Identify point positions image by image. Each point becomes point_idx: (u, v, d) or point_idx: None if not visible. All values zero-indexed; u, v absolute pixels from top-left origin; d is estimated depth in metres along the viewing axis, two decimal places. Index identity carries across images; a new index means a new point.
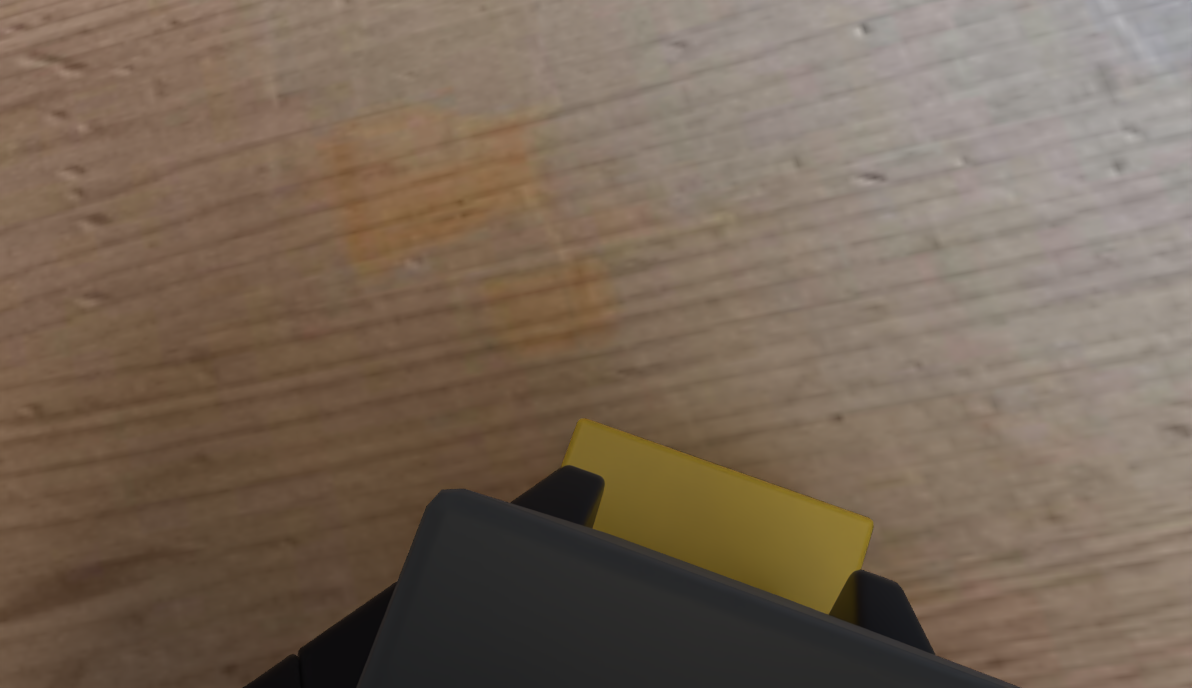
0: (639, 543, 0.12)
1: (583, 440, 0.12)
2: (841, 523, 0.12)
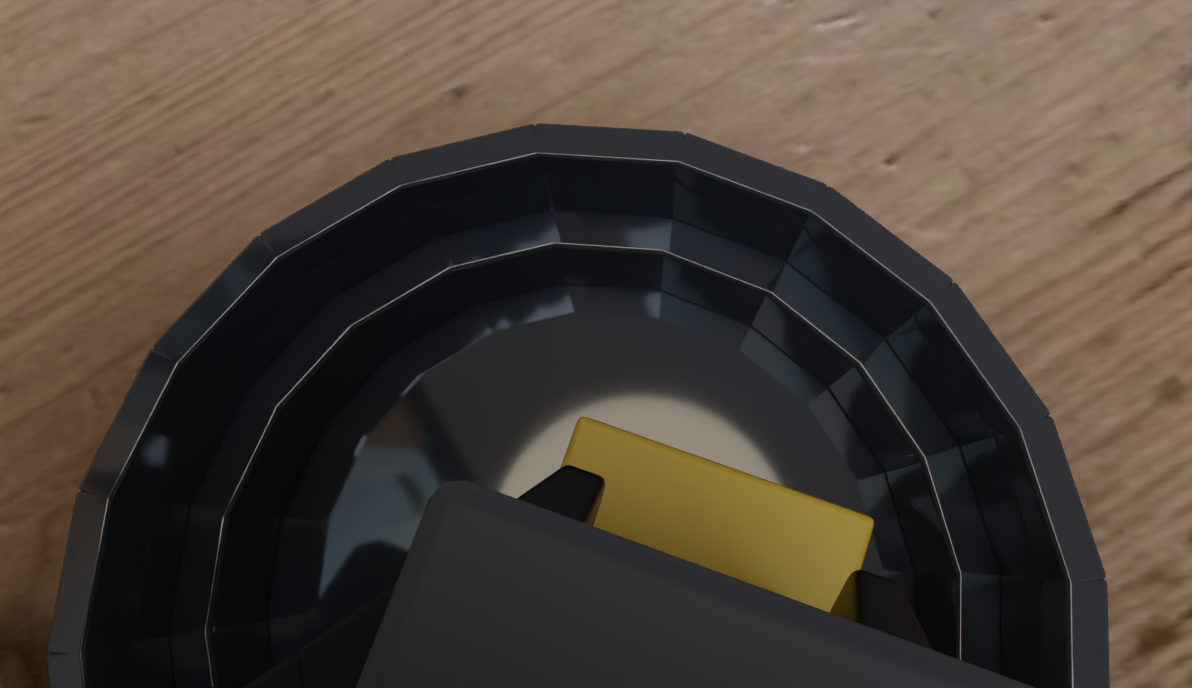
0: (639, 541, 0.12)
1: (583, 438, 0.12)
2: (841, 521, 0.12)
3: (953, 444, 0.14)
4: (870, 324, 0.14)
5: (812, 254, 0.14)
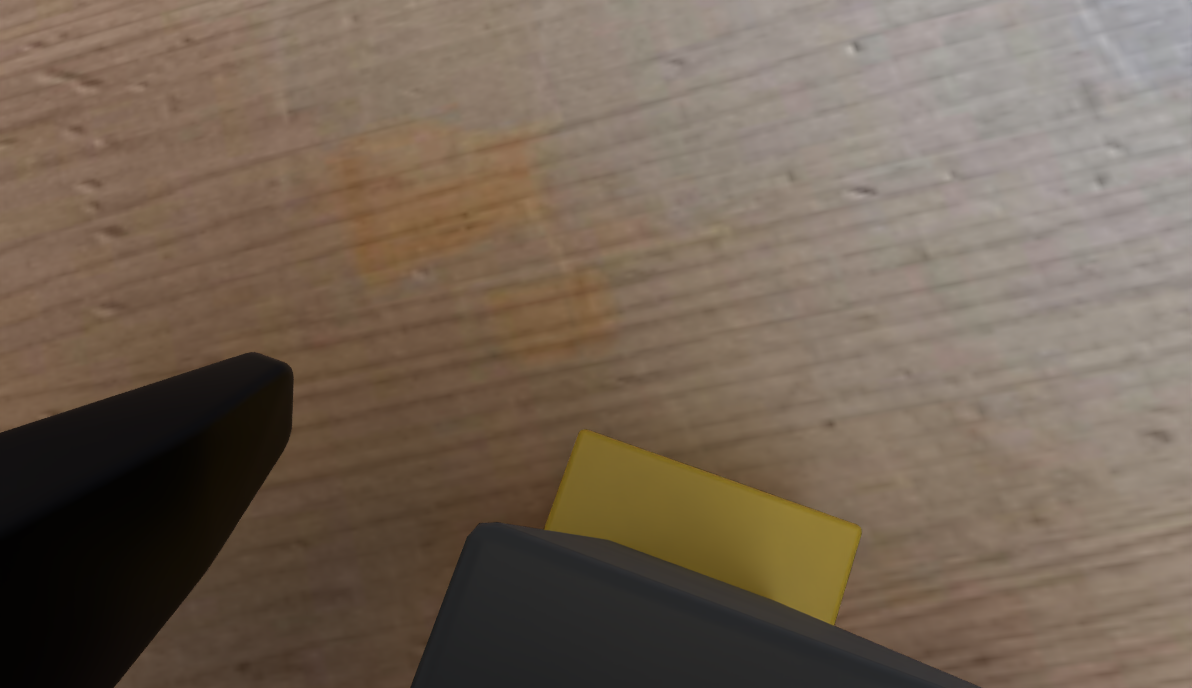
0: (638, 549, 0.13)
1: (584, 450, 0.13)
2: (830, 530, 0.13)
3: None
4: None
5: None
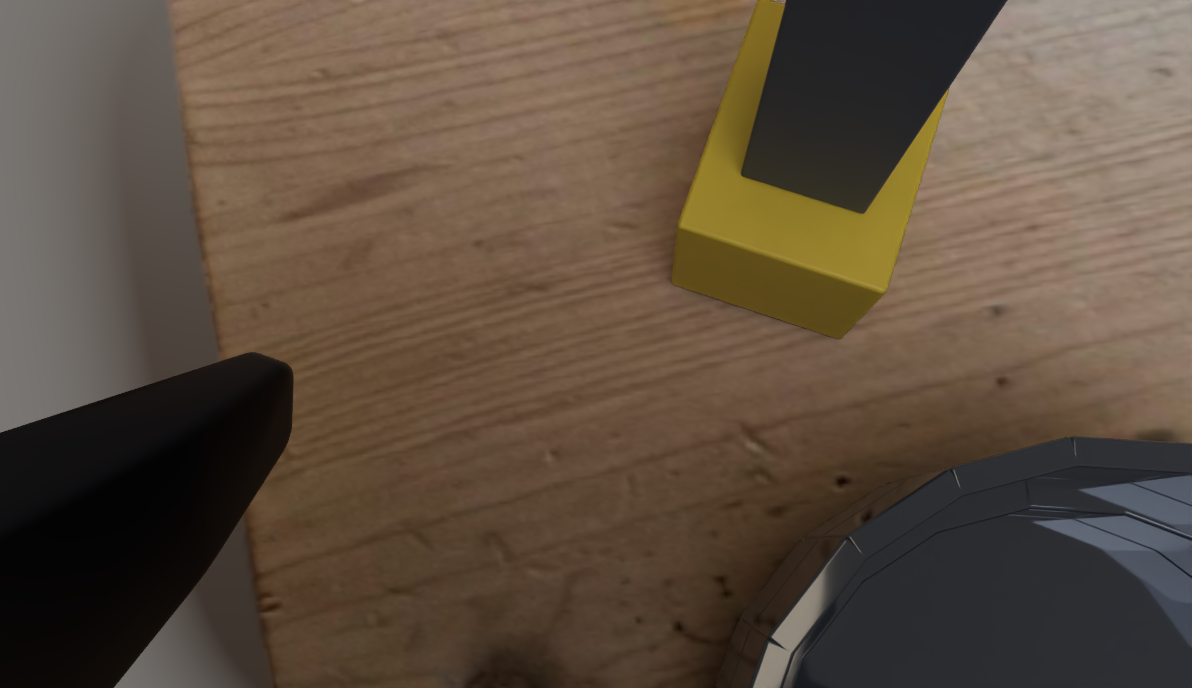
0: None
1: (762, 10, 0.18)
2: None
3: None
4: None
5: None
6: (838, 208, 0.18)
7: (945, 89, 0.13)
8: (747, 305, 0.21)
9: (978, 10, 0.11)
